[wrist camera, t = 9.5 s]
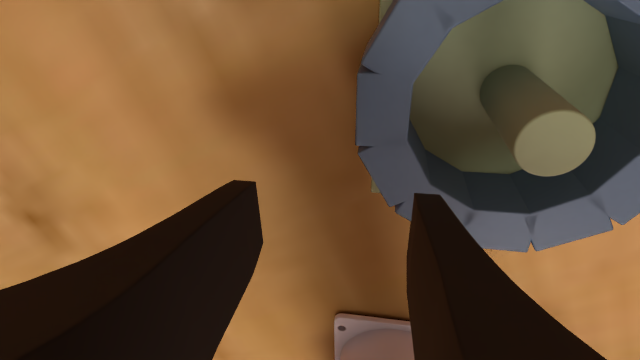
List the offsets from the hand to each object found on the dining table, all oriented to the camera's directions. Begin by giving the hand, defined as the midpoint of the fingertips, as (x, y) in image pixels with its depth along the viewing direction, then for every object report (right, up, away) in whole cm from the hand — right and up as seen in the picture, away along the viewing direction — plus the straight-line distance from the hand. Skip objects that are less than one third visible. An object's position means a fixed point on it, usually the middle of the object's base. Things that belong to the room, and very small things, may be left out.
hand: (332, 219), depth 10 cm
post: (+7, +5, +6) cm, 11 cm away
